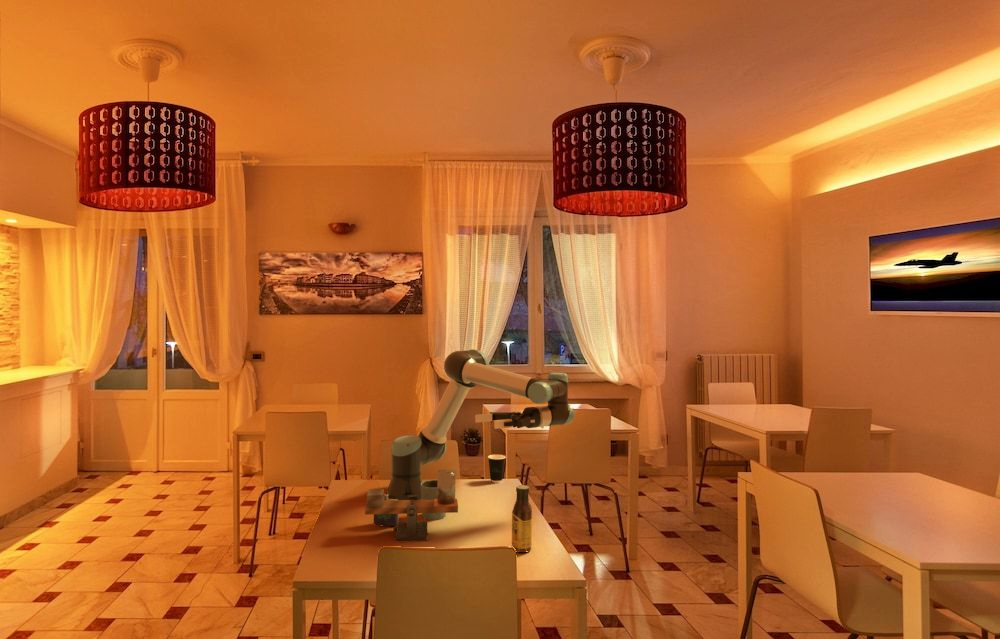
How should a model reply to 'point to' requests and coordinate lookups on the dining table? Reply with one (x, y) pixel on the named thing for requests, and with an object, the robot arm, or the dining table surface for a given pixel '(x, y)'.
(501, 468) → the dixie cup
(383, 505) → the beam
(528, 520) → the sauce bottle
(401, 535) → the beam stand
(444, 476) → the glass jar
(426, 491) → the grey cylindrical container
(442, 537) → the dining table surface
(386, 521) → the flask
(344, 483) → the dining table surface
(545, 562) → the dining table surface
